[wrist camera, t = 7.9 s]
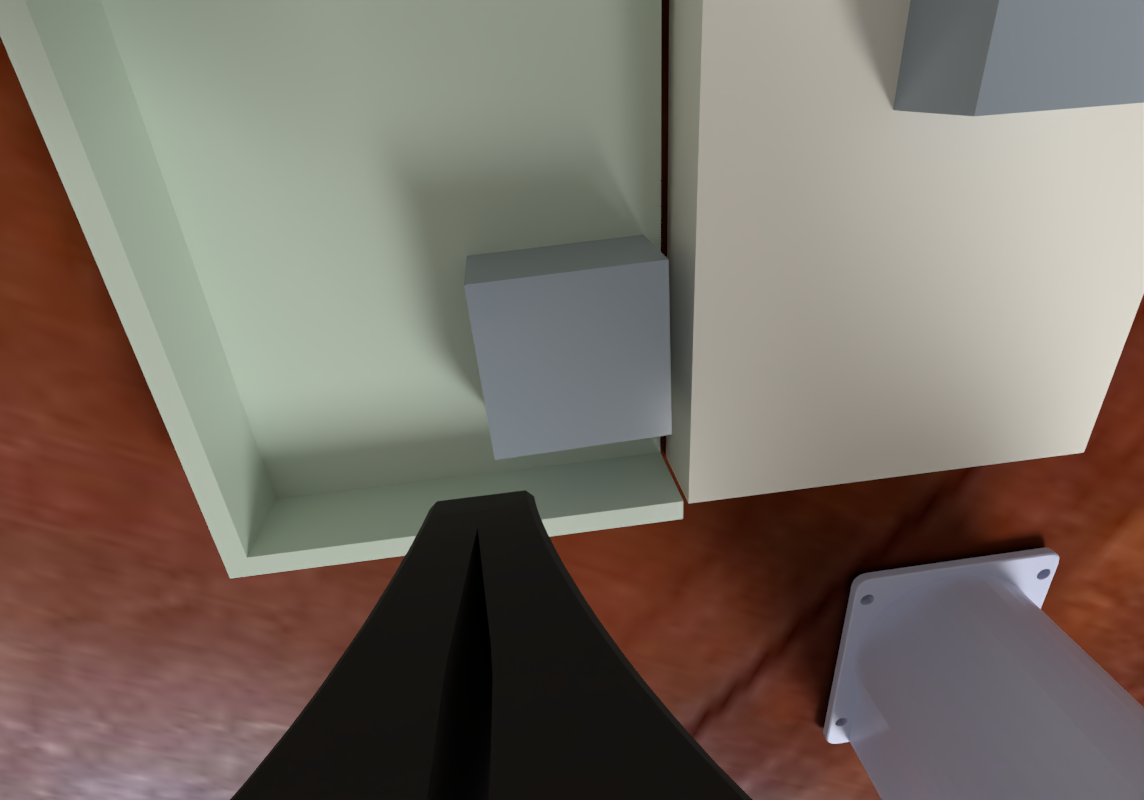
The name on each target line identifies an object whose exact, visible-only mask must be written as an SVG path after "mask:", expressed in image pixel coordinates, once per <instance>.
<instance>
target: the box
mask: <svg viewBox="0 0 1144 800" xmlns="http://www.w3.org/2000/svg"><path fill="white" fill-rule="evenodd" d="M661 6H662V0H0V37H1V39H2V41H3V44H4V46H5V48H6V51H7V53H8V56H9V58H10V60H11V63H12V65H13V67H14V70H15V72H16V74H17V77H18V79H19V81H20V84H21V86H22V89H23V91H24V93H25V96H26V98H27V100H28V103H29V105H30V107H31V110H32V112H33V115H34V117H35V119H36V122H37V124H38V126H39V129H40V131H41V133H42V136H43V138H44V140H45V143H46V145H47V148H48V150H49V152H50V155H51V157H52V159H53V162H54V164H55V166H56V169H57V171H58V174H59V176H60V178H61V181H62V183H63V185H64V188H65V190H66V192H67V195H68V197H69V199H70V202H71V204H72V207H73V209H74V211H75V214H76V216H77V218H78V221H79V223H80V225H81V228H82V230H83V233H84V235H85V237H86V240H87V242H88V244H89V247H90V249H91V251H92V254H93V256H94V258H95V261H96V263H97V266H98V268H99V270H100V273H101V275H102V277H103V280H104V282H105V284H106V287H107V289H108V292H109V294H110V296H111V299H112V301H113V303H114V306H115V308H116V310H117V313H118V315H119V318H120V320H121V322H122V325H123V327H124V329H125V332H126V334H127V336H128V339H129V341H130V343H131V346H132V348H133V351H134V353H135V355H136V358H137V360H138V362H139V365H140V367H141V369H142V372H143V374H144V377H145V379H146V381H147V384H148V386H149V388H150V391H151V393H152V395H153V398H154V400H155V402H156V405H157V407H158V410H159V412H160V414H161V417H162V419H163V421H164V424H165V426H166V428H167V431H168V433H169V436H170V438H171V440H172V443H173V445H174V447H175V450H176V452H177V454H178V457H179V459H180V461H181V464H182V466H183V469H184V471H185V473H186V476H187V478H188V480H189V483H190V485H191V487H192V490H193V492H194V495H195V497H196V499H197V502H198V504H199V506H200V509H201V511H202V513H203V516H204V518H205V520H206V523H207V525H208V528H209V530H210V532H211V535H212V537H213V539H214V542H215V544H216V546H217V549H218V551H219V554H220V556H221V558H222V561H223V563H224V565H225V568H226V570H227V572H228V575H229V577H230V578H238V577H245V576H253V575H261V574H268V573H276V572H283V571H291V570H299V569H306V568H314V567H321V566H329V565H337V564H344V563H352V562H360V561H367V560H375V559H382V558H390V557H398V556H405V555H406V554H407V552H408V550H409V548H410V546H411V545H412V543H413V541H414V539H415V537H416V535H417V533H418V532H419V530H420V528H421V526H422V524H423V522H424V520H425V518H426V516H427V514H428V512H429V510H430V508H431V507H432V506H433V505H434V504H435V503H436V502H437V501H443V500H451V499H459V498H467V497H475V496H483V495H491V494H499V493H507V492H515V491H524V490H526V491H527V492H529V493H530V494H532V495H533V496H534V497H535V502H536V506H537V509H538V512H539V515H540V518H541V520H542V523H543V525H544V527H545V529H546V531H547V534H548V536H549V537H550V536H557V535H565V534H572V533H580V532H588V531H595V530H603V529H610V528H618V527H626V526H633V525H641V524H648V523H656V522H664V521H671V520H679V519H683V499H682V497H681V495H680V493H679V491H678V489H677V487H676V484H675V482H674V480H673V478H672V476H671V474H670V472H669V470H668V467H667V465H666V463H665V461H664V459H663V457H662V455H661V453H660V436H659V437H652V438H645V439H638V440H631V441H624V442H617V443H610V444H603V445H596V446H589V447H583V448H576V449H569V450H562V451H555V452H548V453H541V454H534V455H527V456H520V457H513V458H506V459H499V460H495V459H494V453H493V448H492V442H491V436H490V431H489V425H488V419H487V414H486V408H485V403H484V397H483V391H482V386H481V380H480V374H479V369H478V363H477V357H476V352H475V346H474V340H473V335H472V329H471V323H470V318H469V312H468V307H467V301H466V295H465V290H464V277H465V268H466V258H467V256H470V255H478V254H487V253H495V252H503V251H511V250H520V249H528V248H536V247H544V246H553V245H561V244H569V243H577V242H586V241H594V240H602V239H610V238H619V237H627V236H635V235H644V236H645V237H646V238H647V239H648V240H649V241H650V242H651V243H652V244H653V245H654V246H655V247H656V248H657V249H658V250H659V251H661Z"/></svg>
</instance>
